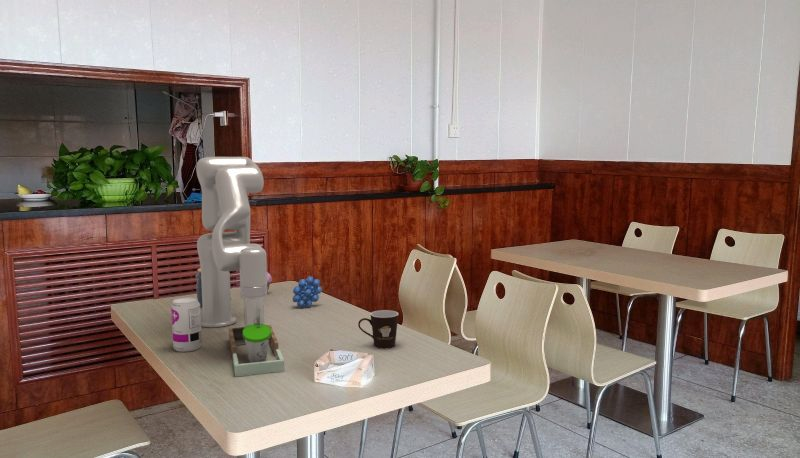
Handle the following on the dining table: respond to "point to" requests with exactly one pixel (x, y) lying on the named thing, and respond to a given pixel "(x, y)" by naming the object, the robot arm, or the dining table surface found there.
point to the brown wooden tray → (238, 339)
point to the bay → (259, 366)
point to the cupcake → (268, 280)
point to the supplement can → (186, 324)
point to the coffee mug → (383, 328)
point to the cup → (257, 341)
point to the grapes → (307, 292)
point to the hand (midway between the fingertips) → (256, 353)
